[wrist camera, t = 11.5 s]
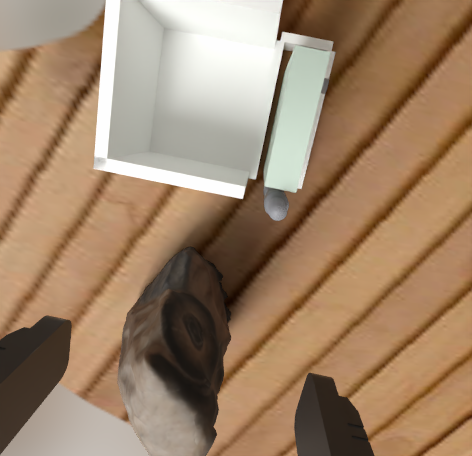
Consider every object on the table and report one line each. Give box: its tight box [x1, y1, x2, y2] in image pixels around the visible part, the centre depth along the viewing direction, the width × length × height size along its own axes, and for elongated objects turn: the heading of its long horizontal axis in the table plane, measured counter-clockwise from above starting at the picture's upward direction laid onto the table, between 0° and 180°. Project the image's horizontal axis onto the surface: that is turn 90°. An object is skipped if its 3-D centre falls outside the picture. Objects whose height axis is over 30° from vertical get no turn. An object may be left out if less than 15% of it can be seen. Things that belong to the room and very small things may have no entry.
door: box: [263, 45, 331, 193], centre depth 31 cm, size 4×10×12 cm, turn 169°
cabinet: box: [94, 0, 335, 221], centre depth 30 cm, size 18×16×13 cm
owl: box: [118, 247, 231, 456], centre depth 33 cm, size 13×13×20 cm
